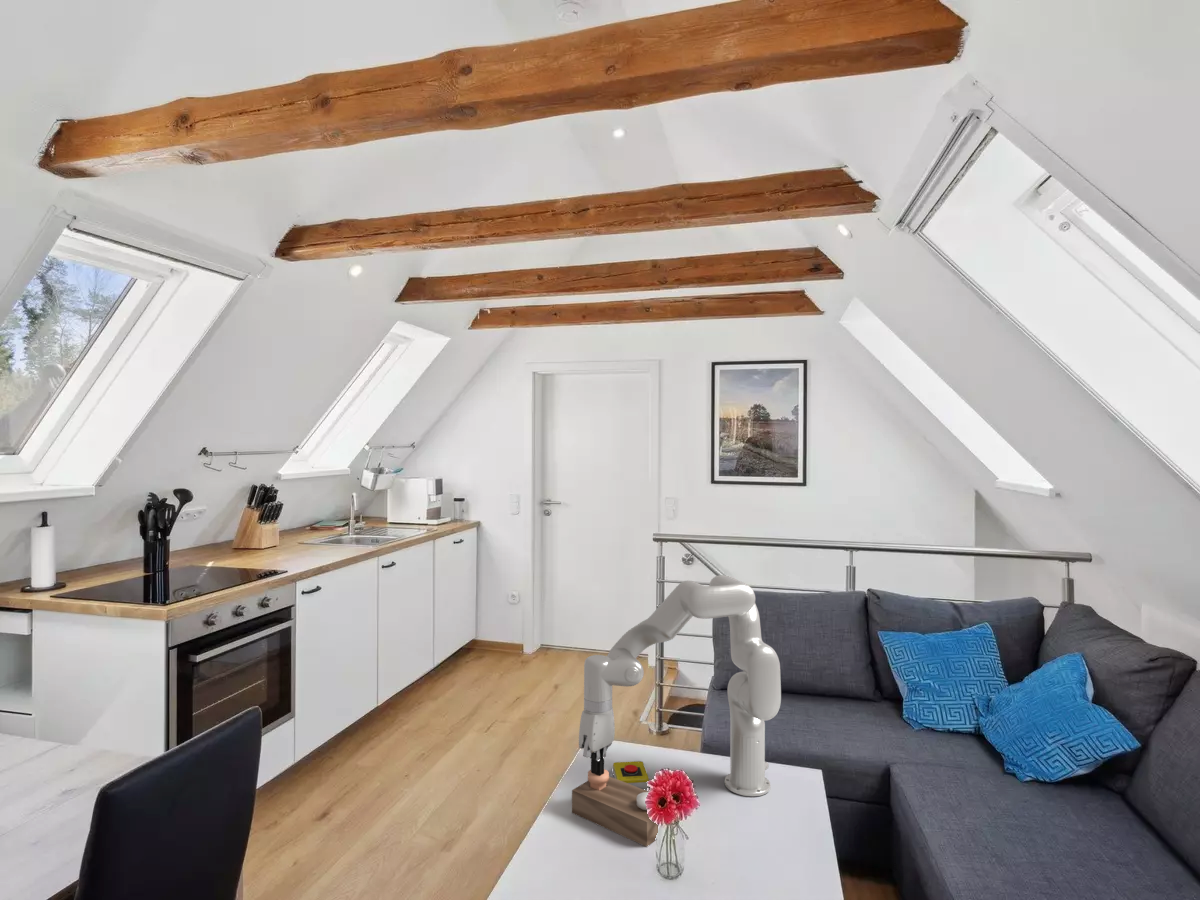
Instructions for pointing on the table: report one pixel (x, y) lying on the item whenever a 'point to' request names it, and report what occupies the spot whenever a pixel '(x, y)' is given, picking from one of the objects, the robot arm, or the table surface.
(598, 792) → the press console
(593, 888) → the table surface
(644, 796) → the white glossy ovoid
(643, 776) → the emergency button
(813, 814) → the table surface
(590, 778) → the peach round knob
